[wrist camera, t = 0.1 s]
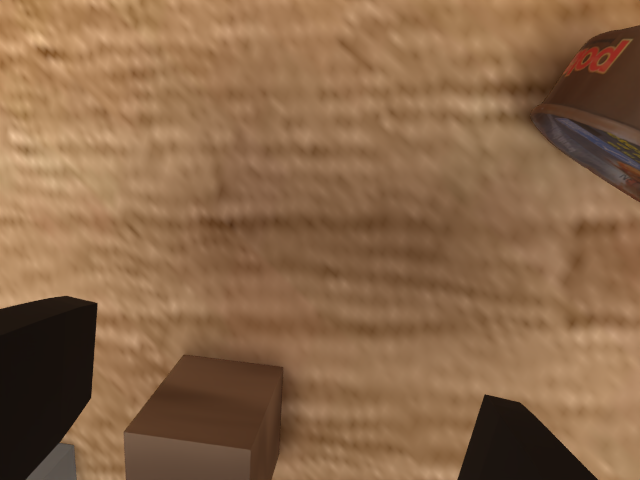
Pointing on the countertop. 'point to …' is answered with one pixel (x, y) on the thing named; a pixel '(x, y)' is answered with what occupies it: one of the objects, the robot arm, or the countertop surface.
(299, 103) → the countertop surface
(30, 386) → the robot arm
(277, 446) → the walnut block
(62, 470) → the base block
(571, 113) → the tin
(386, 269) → the countertop surface
